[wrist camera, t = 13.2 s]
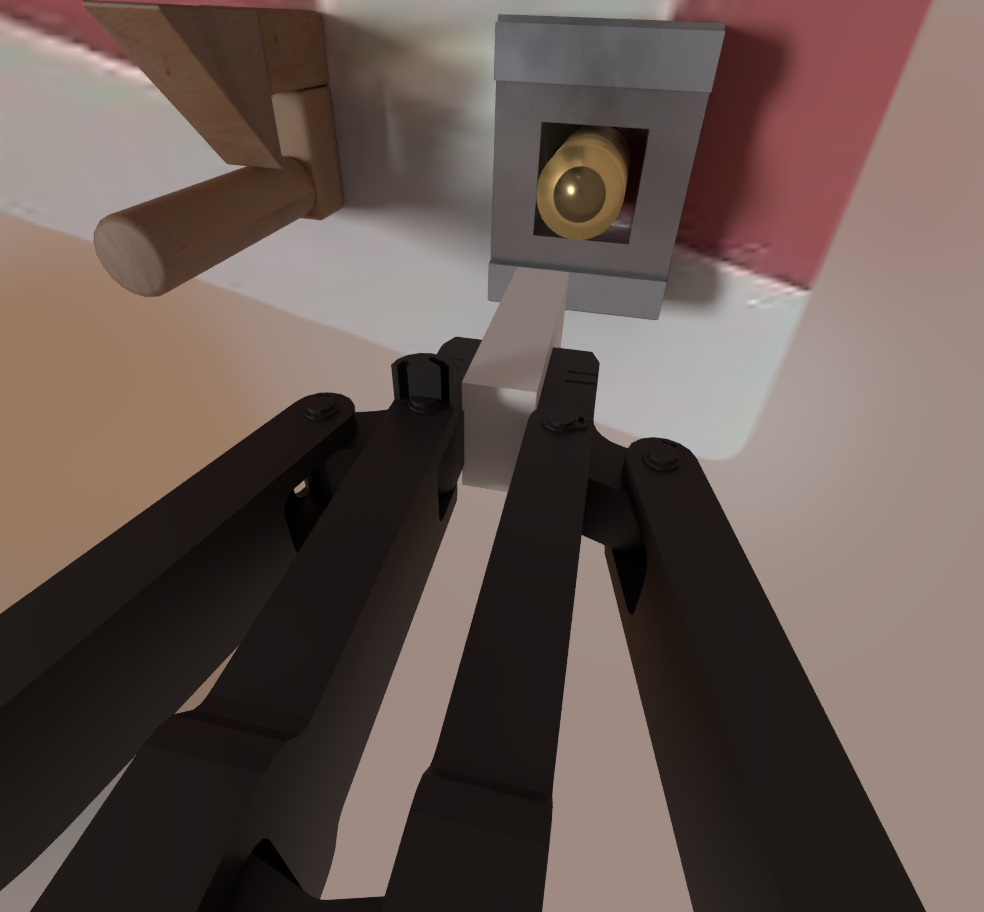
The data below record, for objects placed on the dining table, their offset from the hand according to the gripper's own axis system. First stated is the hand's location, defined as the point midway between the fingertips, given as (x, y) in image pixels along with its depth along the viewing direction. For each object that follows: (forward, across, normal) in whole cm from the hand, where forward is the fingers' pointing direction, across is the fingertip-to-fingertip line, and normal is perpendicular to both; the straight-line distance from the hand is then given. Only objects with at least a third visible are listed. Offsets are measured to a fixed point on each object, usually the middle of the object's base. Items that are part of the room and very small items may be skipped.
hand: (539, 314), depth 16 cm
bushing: (+23, 0, 0) cm, 23 cm away
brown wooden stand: (+23, -18, +1) cm, 29 cm away
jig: (+23, 0, -1) cm, 23 cm away
